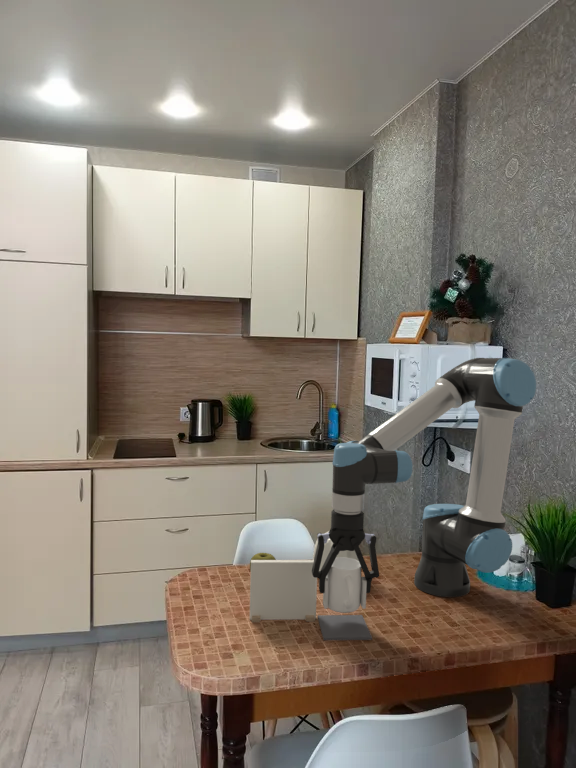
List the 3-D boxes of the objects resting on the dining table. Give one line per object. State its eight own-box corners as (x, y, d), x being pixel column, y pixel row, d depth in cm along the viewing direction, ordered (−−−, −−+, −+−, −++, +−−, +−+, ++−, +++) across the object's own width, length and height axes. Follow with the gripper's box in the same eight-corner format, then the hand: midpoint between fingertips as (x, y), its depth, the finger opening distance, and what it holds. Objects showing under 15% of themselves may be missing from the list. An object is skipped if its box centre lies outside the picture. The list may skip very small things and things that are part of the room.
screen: (314, 613, 140) (316, 558, 140) (316, 621, 136) (318, 564, 136) (249, 614, 139) (250, 558, 138) (249, 622, 135) (251, 564, 134)
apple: (260, 572, 166) (261, 548, 166) (282, 579, 162) (283, 554, 161) (243, 580, 160) (244, 555, 160) (266, 587, 155) (266, 562, 155)
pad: (362, 617, 139) (362, 614, 139) (371, 639, 128) (372, 637, 128) (317, 617, 138) (317, 615, 138) (323, 640, 127) (323, 637, 127)
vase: (302, 579, 162) (304, 533, 161) (327, 565, 173) (329, 522, 172) (345, 592, 154) (347, 543, 153) (368, 576, 165) (370, 531, 165)
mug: (368, 620, 128) (370, 575, 127) (332, 621, 127) (333, 576, 126) (355, 598, 140) (356, 556, 139) (322, 598, 138) (323, 557, 138)
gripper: (388, 506, 136) (384, 599, 138) (301, 505, 135) (297, 599, 136) (396, 515, 129) (392, 613, 130) (304, 514, 127) (300, 613, 128)
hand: (344, 605), depth 133 cm, fingers closed on mug, 8 cm apart
